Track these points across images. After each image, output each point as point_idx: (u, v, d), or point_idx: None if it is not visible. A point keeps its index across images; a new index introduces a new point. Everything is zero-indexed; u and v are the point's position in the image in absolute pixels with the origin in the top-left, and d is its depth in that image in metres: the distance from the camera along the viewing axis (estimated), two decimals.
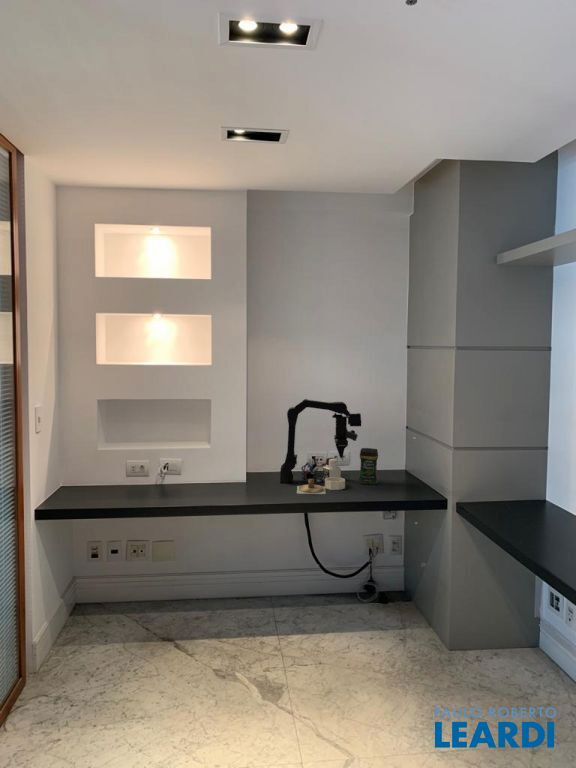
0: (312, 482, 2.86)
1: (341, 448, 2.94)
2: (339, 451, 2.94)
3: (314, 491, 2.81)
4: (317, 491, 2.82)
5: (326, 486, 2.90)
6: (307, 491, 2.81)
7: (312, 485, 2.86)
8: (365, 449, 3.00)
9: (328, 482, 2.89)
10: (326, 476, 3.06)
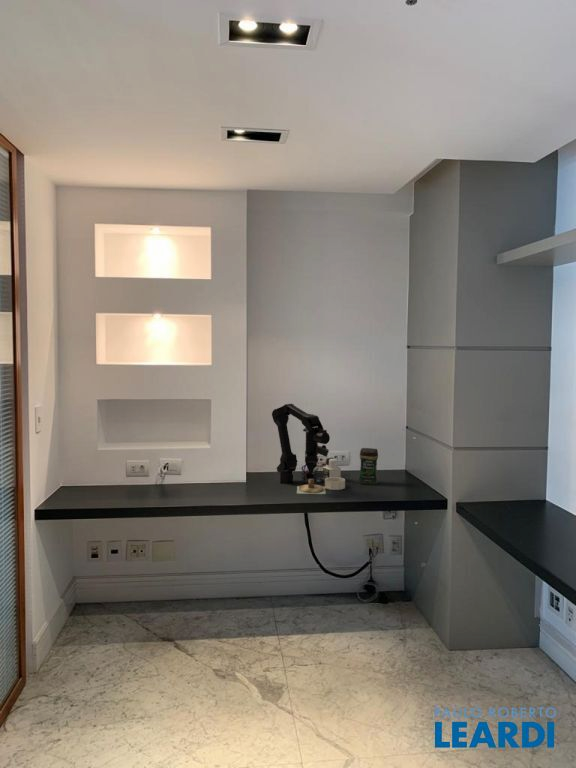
0: (312, 482, 2.86)
1: (311, 464, 2.80)
2: (309, 467, 2.80)
3: (314, 491, 2.81)
4: (317, 491, 2.82)
5: (326, 486, 2.90)
6: (307, 491, 2.81)
7: (312, 485, 2.86)
8: (365, 449, 3.00)
9: (328, 482, 2.89)
10: (326, 476, 3.06)
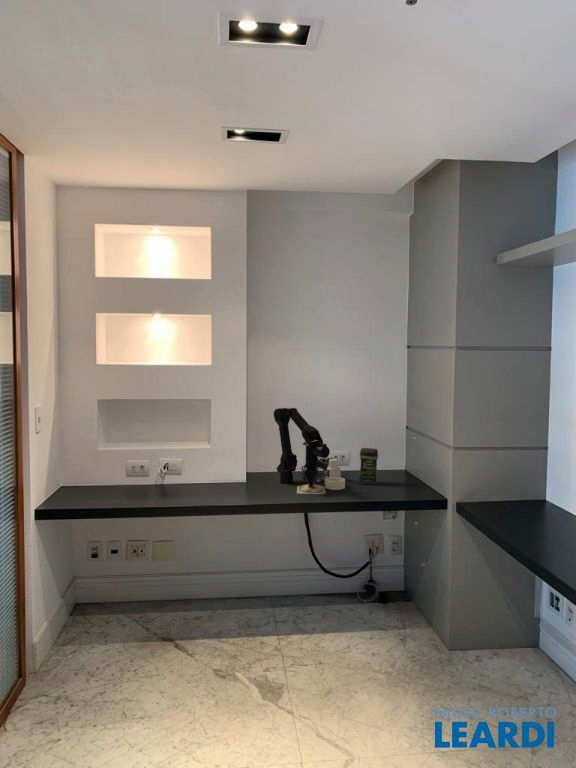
0: None
1: (311, 477, 2.84)
2: (309, 480, 2.84)
3: (314, 491, 2.81)
4: (317, 491, 2.82)
5: (326, 486, 2.90)
6: (307, 491, 2.81)
7: None
8: (365, 449, 3.00)
9: (328, 482, 2.89)
10: (326, 476, 3.06)
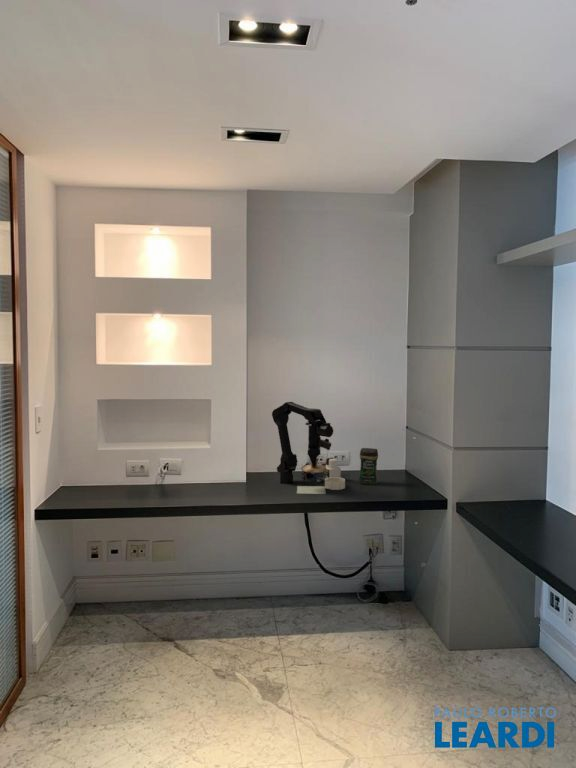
0: None
1: (314, 456, 2.84)
2: (311, 459, 2.84)
3: (317, 471, 2.81)
4: (320, 471, 2.81)
5: (326, 486, 2.90)
6: (310, 471, 2.81)
7: (315, 465, 2.85)
8: (365, 449, 3.00)
9: (328, 482, 2.89)
10: (326, 476, 3.06)
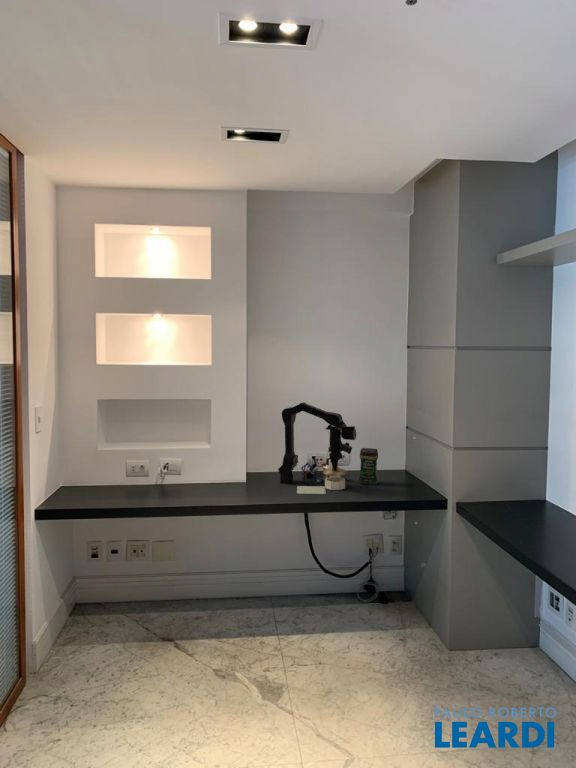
0: None
1: (335, 460, 2.89)
2: (333, 463, 2.89)
3: (338, 474, 2.86)
4: (341, 474, 2.87)
5: (326, 486, 2.90)
6: (331, 474, 2.86)
7: (336, 468, 2.91)
8: (365, 449, 3.00)
9: (328, 482, 2.89)
10: (326, 476, 3.06)
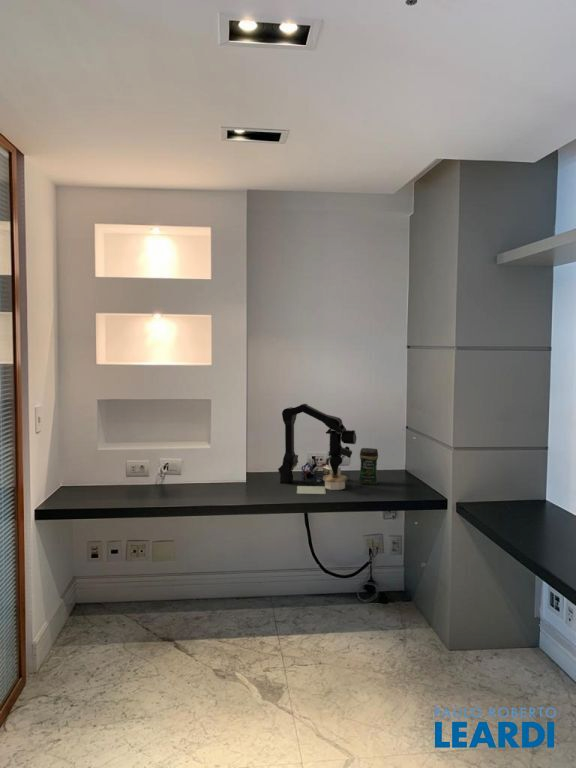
0: None
1: (335, 465, 2.86)
2: (333, 468, 2.87)
3: (338, 480, 2.86)
4: (341, 480, 2.87)
5: (326, 486, 2.90)
6: (331, 480, 2.87)
7: (336, 475, 2.91)
8: (365, 449, 3.00)
9: (328, 482, 2.89)
10: None
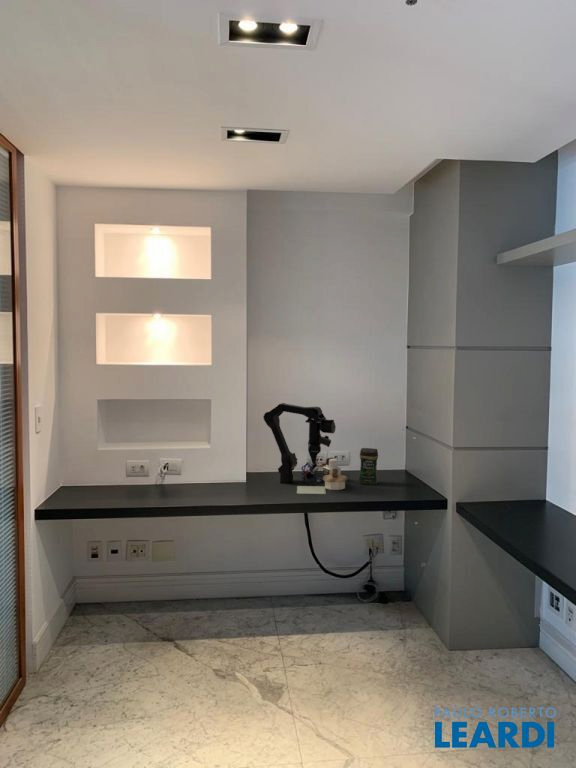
0: (336, 472, 2.91)
1: (314, 454, 2.89)
2: (312, 457, 2.89)
3: (338, 480, 2.86)
4: (341, 480, 2.87)
5: (326, 486, 2.90)
6: (331, 480, 2.87)
7: (336, 475, 2.91)
8: (365, 449, 3.00)
9: (328, 482, 2.89)
10: None
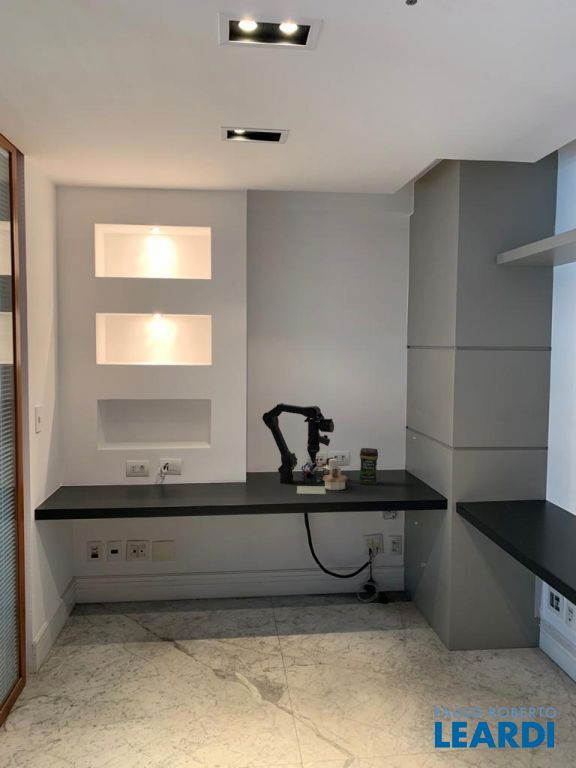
0: (336, 472, 2.91)
1: (313, 453, 2.89)
2: (311, 456, 2.89)
3: (338, 480, 2.86)
4: (341, 480, 2.87)
5: (326, 486, 2.90)
6: (331, 480, 2.87)
7: (336, 475, 2.91)
8: (365, 449, 3.00)
9: (328, 482, 2.89)
10: None
